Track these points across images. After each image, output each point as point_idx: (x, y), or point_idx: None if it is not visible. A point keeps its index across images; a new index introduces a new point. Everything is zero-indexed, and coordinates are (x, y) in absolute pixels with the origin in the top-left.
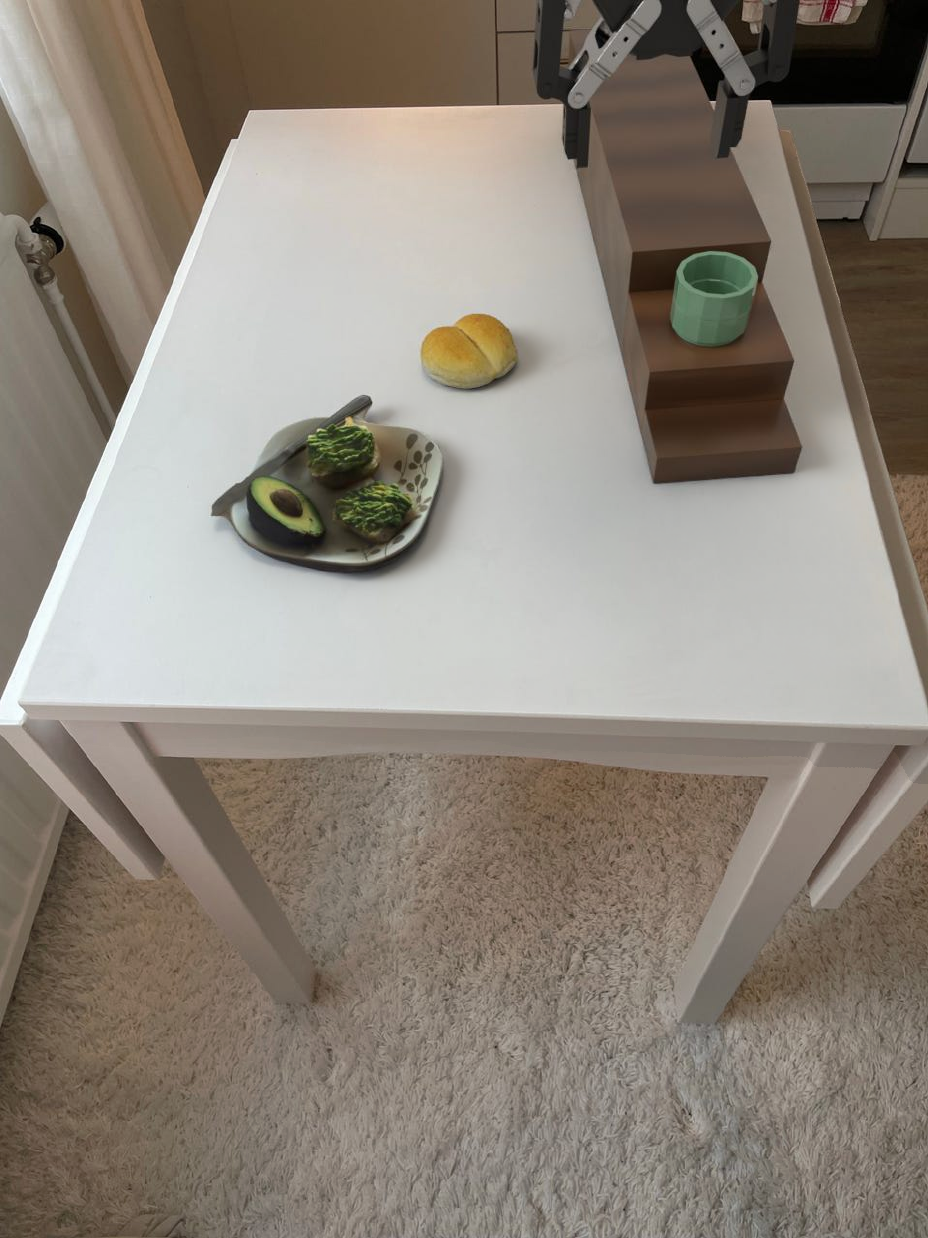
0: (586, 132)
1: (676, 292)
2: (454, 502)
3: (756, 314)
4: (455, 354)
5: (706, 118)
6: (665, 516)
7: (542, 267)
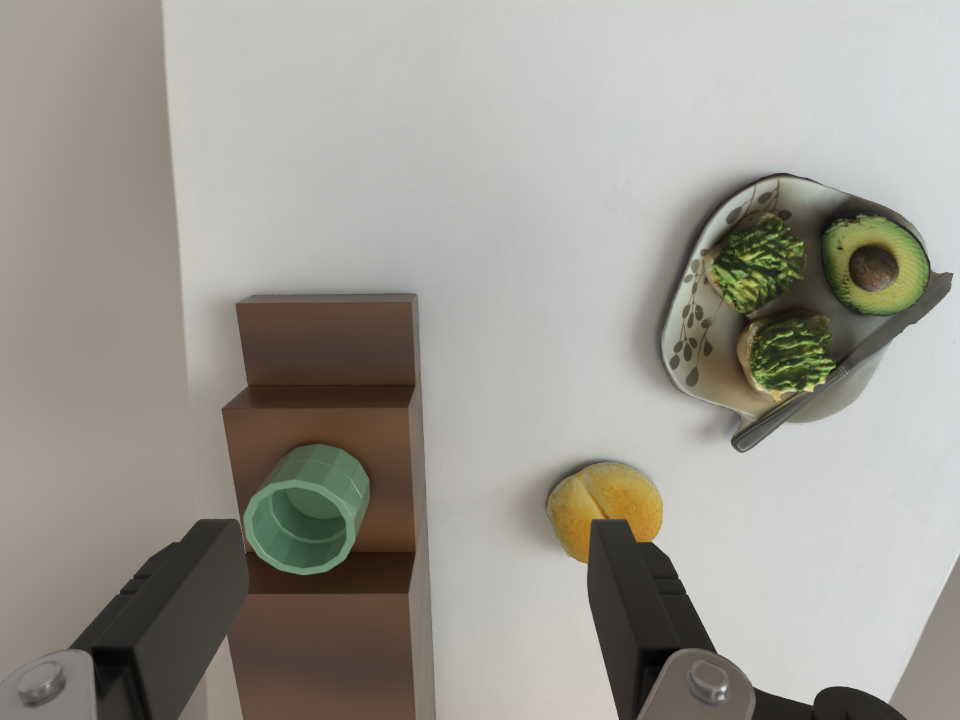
0: (627, 585)
1: (359, 511)
2: (649, 287)
3: None
4: (629, 497)
5: None
6: (409, 241)
7: (497, 642)
